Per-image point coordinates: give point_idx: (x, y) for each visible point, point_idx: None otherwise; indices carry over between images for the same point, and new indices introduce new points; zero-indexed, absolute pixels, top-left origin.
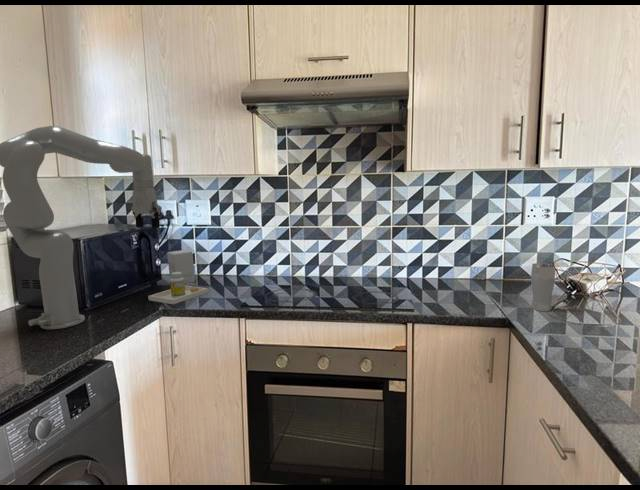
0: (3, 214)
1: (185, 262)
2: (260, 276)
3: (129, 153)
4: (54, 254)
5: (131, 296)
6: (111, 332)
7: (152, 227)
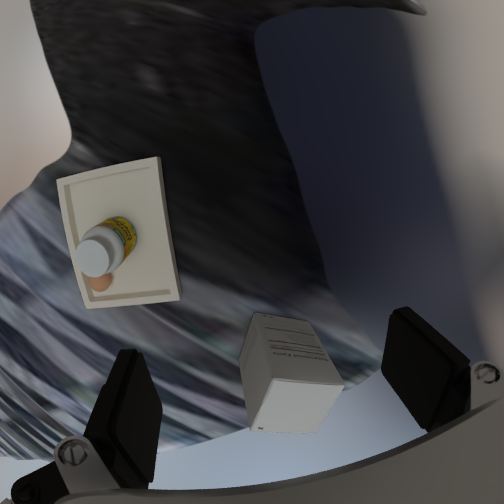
0: None
1: (252, 385)
2: None
3: None
4: None
5: (277, 165)
6: (48, 19)
7: (127, 350)
